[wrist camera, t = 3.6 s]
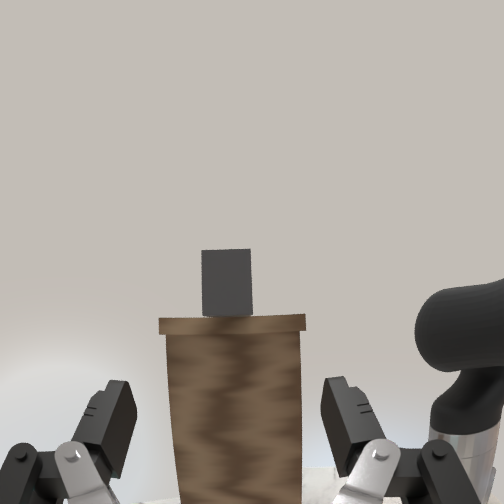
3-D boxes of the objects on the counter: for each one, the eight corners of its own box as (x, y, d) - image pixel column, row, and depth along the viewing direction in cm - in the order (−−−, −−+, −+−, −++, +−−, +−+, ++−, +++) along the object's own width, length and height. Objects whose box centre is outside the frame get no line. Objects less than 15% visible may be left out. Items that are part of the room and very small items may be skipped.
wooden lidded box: (286, 511, 37) (282, 316, 44) (303, 573, 21) (305, 313, 28) (202, 514, 36) (187, 319, 43) (190, 576, 21) (158, 317, 27)
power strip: (245, 317, 41) (244, 281, 42) (253, 314, 19) (250, 237, 20) (222, 318, 41) (221, 282, 42) (202, 315, 19) (201, 239, 20)
